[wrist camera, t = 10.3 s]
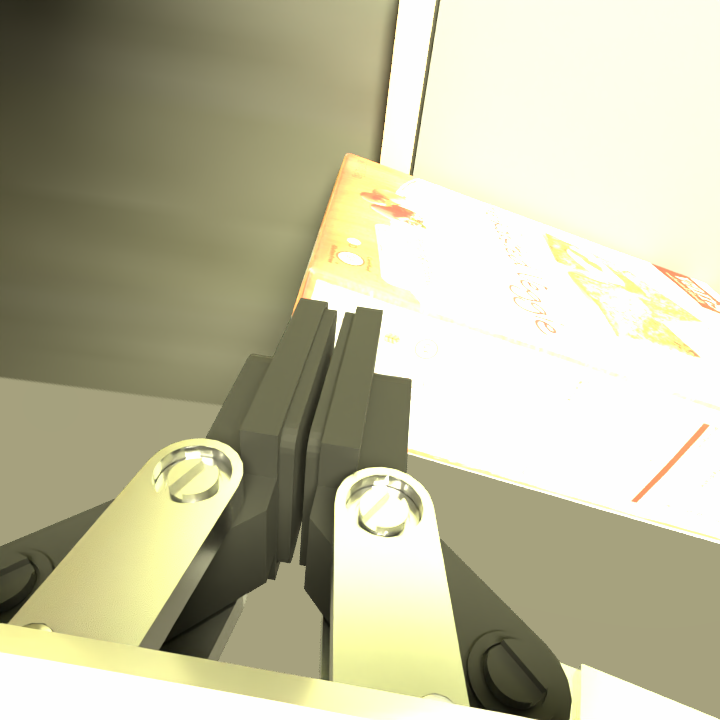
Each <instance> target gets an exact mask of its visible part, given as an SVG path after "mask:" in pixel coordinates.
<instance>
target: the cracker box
mask: <svg viewBox="0 0 720 720" xmlns="http://www.w3.org/2000/svg"><path fill="white" fill-rule="evenodd" d="M300 298H307V299H314V300H321V301H327V302H328V309H333V310H337V325H336V336H335V345H336V341H337V338H338V334H339V331H340V327H341V324H342V321H343V317H344V314H345V312H353V313H355V311H356V307H357V306H361V307H367V308H374V309H381V310H383V317H382V324H381V331H380V338H379V344H378V351H377V358H376V365H375V371H374V373H379V374H385V375H391V376H398V377H404V378H411V379H412V390H411V407H410V423H409V439H408V454H411V455H414V456H417V457H421V458H425V459H428V460H431V461H435V462H438V463H442V464H445V465H449V466H452V467H456V468H459V469H463V470H466V471H470V472H473V473H477V474H480V475H484V476H487V477H491V478H494V479H497V480H501V481H504V482H508V483H511V484H515V485H518V486H522V487H525V488H529V489H532V490H536V491H539V492H543V493H546V494H549V495H553V496H556V497H560V498H563V499H567V500H570V501H574V502H577V503H580V504H584V505H587V506H591V507H594V508H598V509H602V510H605V511H608V512H612V513H616V514H619V515H622V516H626V517H629V518H633V519H636V520H640V521H643V522H647V523H650V524H654V525H657V526H661V527H664V528H667V529H671V530H674V531H678V532H681V533H685V534H689V535H692V536H696V537H699V538H702V539H706V540H709V541H713V542H717V543H720V296H719V295H718V294H717V293H716V292H715V291H714V290H713V289H712V288H710V287H709V286H708V285H707V284H706V283H704V282H701V281H698V280H695V279H693V278H690V277H687V276H685V275H682V274H679V273H676V272H673V271H671V270H668V269H665V268H663V267H660V266H657V265H654V264H651V263H649V262H646V261H643V260H640V259H638V258H635V257H632V256H629V255H626V254H623V253H621V252H618V251H615V250H612V249H609V248H607V247H604V246H601V245H599V244H596V243H593V242H591V241H588V240H585V239H583V238H580V237H577V236H575V235H572V234H569V233H566V232H564V231H561V230H558V229H556V228H553V227H550V226H547V225H545V224H542V223H539V222H536V221H534V220H531V219H528V218H525V217H523V216H520V215H517V214H514V213H512V212H509V211H506V210H504V209H501V208H498V207H495V206H493V205H490V204H487V203H484V202H481V201H478V200H476V199H473V198H470V197H468V196H465V195H462V194H459V193H457V192H454V191H452V190H449V189H446V188H444V187H441V186H438V185H435V184H433V183H430V182H427V181H424V180H422V179H419V178H416V177H414V176H411V175H408V174H405V173H403V172H400V171H397V170H395V169H392V168H389V167H387V166H384V165H381V164H378V163H375V162H373V161H370V160H367V159H364V158H361V157H359V156H356V155H353V154H349V153H347V154H346V155H345V157H344V160H343V162H342V165H341V168H340V170H339V173H338V175H337V179H336V182H335V185H334V188H333V191H332V194H331V197H330V200H329V202H328V205H327V209H326V212H325V215H324V218H323V221H322V224H321V227H320V230H319V233H318V236H317V239H316V242H315V245H314V248H313V251H312V254H311V257H310V260H309V263H308V266H307V269H306V272H305V275H304V278H303V281H302V284H301V287H300V290H299V293H298V296H297V300H296V303H295V306H294V310H295V308H296V306H297V304H298V302H299V300H300ZM294 310H293V313H294ZM293 313H292V315H293ZM291 317H292V316H291ZM334 348H335V347H334Z"/></svg>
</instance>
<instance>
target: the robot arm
mask: <svg viewBox="0 0 720 720" xmlns="http://www.w3.org/2000/svg"><path fill="white" fill-rule="evenodd" d="M382 317H383V310H381V309H374V308H367V307H361V306H357V307H356V311H355V313H353V312H345V314H344V317H343V321H342V324H341V327H340V331H339V334H338V338H337V341H336V345H335V336H336V325H337V310H333V309H328V302H327V301H321V300H314V299H307V298H300V300H299V302H298V304H297V306H296V308H295V310H294V313H293V315H292V317H291V319H290V321H289V323H288V326H287V328H286V330H285V332H284V334H283V336H282V339H281V341H280V343H279V345H278V347H277V350H276V352H275V354H274V356H273V357H269V356H262V355H256V354H252V355H250V356H249V358H248V359H247V361H246V363H245V365H244V366H243V368H242V370H241V372H240V374H239V376H238V378H237V380H236V382H235V383H234V385H233V387H232V389H231V391H230V393H229V395H228V397H227V399H226V400H225V402H224V404H223V406H222V408H221V410H220V412H219V414H218V416H217V417H216V420H215V421H214V423H213V425H212V427H211V429H210V431H209V433H208V434H207V436H206V438H205V439H204V438H200V439H187V440H183V441H180V442H176V443H173V444H171V445H169V446H167V447H165V448H163V449H162V450H159V451H158V452H157V453H156V454H155V455H154V456H153V457H152V458H150V459H149V460H148V462H147V463H146V464H145V465H144V466H143V467H142V468H141V470H140V471H139V472H138V473H137V474H136V475H135V477H134V478H133V479H132V480H131V481H130V482H129V483H128V485H127V486H126V487H125V488H124V489H123V490H122V492H121V493H120V494H119V495H118V496H117V497H116V499H113V500H111V501H108V502H106V503H104V504H101V505H99V506H96V507H94V508H92V509H89V510H87V511H84V512H82V513H80V514H77V515H75V516H72V517H70V518H68V519H65V520H63V521H60V522H58V523H55V524H53V525H51V526H48V527H46V528H43V529H41V530H39V531H37V532H34V533H31V534H29V535H27V536H24V537H22V538H20V539H17V540H15V541H12V542H10V543H7V544H5V545H3V546H0V720H719V719H717V718H715V717H712V716H710V715H707V714H704V713H702V712H700V711H697V710H695V709H692V708H690V707H688V706H685V705H682V704H680V703H678V702H675V701H673V700H670V699H668V698H665V697H663V696H660V695H658V694H655V693H653V692H650V691H648V690H646V689H643V688H641V687H638V686H636V685H633V684H631V683H628V682H626V681H623V680H621V679H618V678H616V677H614V676H611V675H609V674H606V673H604V672H601V671H599V670H596V669H594V668H592V667H589V666H587V665H584V664H581V665H580V666H579V668H578V669H575V668H572V667H569V666H567V665H565V664H562V663H560V662H559V660H558V659H557V658H556V656H555V655H554V654H553V653H552V651H551V650H550V649H549V648H548V646H547V645H546V644H545V643H544V642H543V641H542V640H541V639H540V638H539V637H538V636H537V635H536V634H535V633H534V632H533V631H532V630H531V629H530V628H529V627H528V626H527V625H526V624H525V623H524V622H523V621H522V620H521V619H520V618H519V617H518V616H517V615H516V614H515V613H514V612H513V611H512V610H511V609H510V608H509V607H508V606H507V605H506V604H505V603H504V602H503V601H502V600H501V599H500V598H499V597H498V596H497V595H496V594H495V593H494V592H493V591H492V590H491V589H490V588H489V587H488V586H487V585H486V584H485V583H484V582H483V581H482V580H481V579H480V578H479V577H478V576H477V575H476V574H475V573H474V572H473V571H472V570H471V569H470V568H469V567H468V566H467V565H466V564H465V563H464V562H463V561H462V560H461V559H460V558H459V557H458V556H457V555H456V554H455V553H454V552H453V551H452V550H451V549H450V548H449V547H448V546H447V545H446V544H445V543H444V542H443V541H442V540H441V539H440V538H439V534H438V529H437V523H436V517H435V512H434V506H433V503H432V501H431V498H430V495H429V494H428V492H427V491H426V490H425V488H424V487H423V486H422V485H421V484H420V483H419V482H418V481H416V480H415V479H414V478H412V477H411V476H410V475H408V474H406V470H407V454H408V439H409V423H410V407H411V390H412V379H411V378H404V377H398V376H391V375H385V374H379V373H374V371H375V365H376V358H377V351H378V344H379V338H380V331H381V324H382ZM334 347H335V348H334ZM301 522H302V531H301V548H300V565H304V566H306V572H305V586H304V589H305V591H306V592H307V593H308V595H309V596H310V598H311V599H312V600H313V602H314V603H315V604H316V606H317V607H318V609H319V610H320V612H321V613H322V618H321V639H320V670H319V673H320V674H319V679H314V678H308V677H303V676H297V675H292V674H286V673H280V672H275V671H269V670H264V669H258V668H252V667H247V666H241V665H236V664H231V663H225V662H219V661H218V660H219V658H220V655H221V654H222V652H223V650H224V648H225V645H226V643H227V641H228V639H229V637H230V635H231V633H232V631H233V629H234V627H235V625H236V623H237V621H238V618H239V617H240V615H241V613H242V610H243V608H244V605H245V602H246V599H247V593H249V592H251V591H252V590H254V589H256V588H257V587H259V586H261V585H262V584H264V583H266V581H267V579H272V580H275V578H276V575H277V571H278V567H279V564H280V562H286V563H291V560H292V557H293V553H294V550H295V546H296V542H297V538H298V534H299V530H300V526H301Z"/></svg>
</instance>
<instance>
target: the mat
mask: <svg viewBox="0 0 720 720" xmlns="http://www.w3.org/2000/svg"><path fill="white" fill-rule="evenodd" d="M435 2H436V0H400V2H399V10H398V19H397V27H396V35H395V43H394V52H393V60H392V68H391V77H390V85H389V93H388V102H387V110H386V118H385V127H384V135H383V143H382V151H381V160H380V164H381V165H384V166H387V167H389V168H392V169H395V170H397V171H400V172H403V173H405V174H408V175H409V172H410V166H411V159H412V152H413V146H414V139H415V133H416V126H417V120H418V113H419V107H420V100H421V94H422V87H423V80H424V74H425V67H426V61H427V54H428V48H429V41H430V35H431V28H432V22H433V15H434V8H435ZM413 176H414V177H416V178H419V179H422V180H424V181H427V182H430V183H433V184H435V185H438V186H441V187H444V188H446V189H449V190H452V191H454V192H457V193H459V194H462V195H465V196H468V197H470V198H473V199H476V200H478V201H481V202H484V203H487V204H490V205H493V206H495V207H498V208H501V209H504V210H506V211H509V212H512V213H514V214H517V215H520V216H523V217H525V218H528V219H531V220H534V221H536V222H539V223H542V224H545V225H547V226H550V227H553V228H556V229H558V230H561V231H564V232H566V233H569V234H572V235H575V236H577V237H580V238H583V239H585V240H588V241H591V242H593V243H596V244H599V245H601V246H604V247H607V248H609V249H612V250H615V251H618V252H621V253H623V254H626V255H629V256H632V257H635V258H638V259H640V260H643V261H646V262H649V263H651V264H654V265H657V266H660V267H663V268H665V269H668V270H671V271H673V272H676V273H679V274H682V275H685V276H687V277H690V278H693V279H695V280H698V281H701V282H704V283H706V284H707V285H708V286H709V287H710V288H712V289H713V290H714V291H715V292H716V293H717V294H718V295H719V296H720V0H440V5H439V12H438V18H437V25H436V31H435V37H434V44H433V50H432V56H431V63H430V69H429V76H428V82H427V88H426V95H425V101H424V107H423V114H422V120H421V127H420V133H419V139H418V146H417V152H416V158H415V165H414V171H413Z"/></svg>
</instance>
